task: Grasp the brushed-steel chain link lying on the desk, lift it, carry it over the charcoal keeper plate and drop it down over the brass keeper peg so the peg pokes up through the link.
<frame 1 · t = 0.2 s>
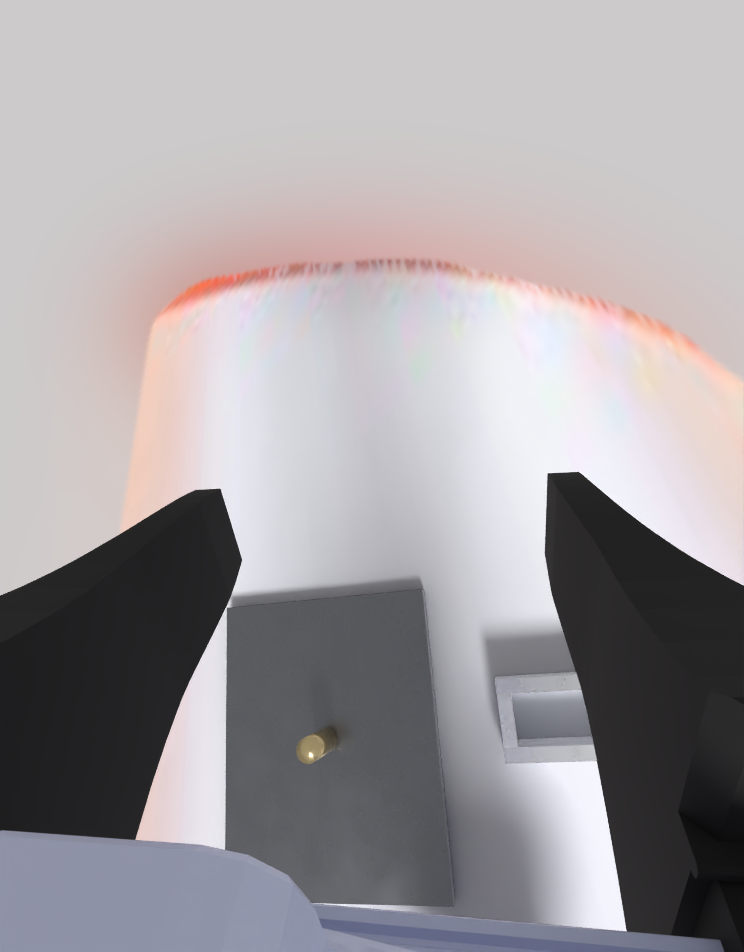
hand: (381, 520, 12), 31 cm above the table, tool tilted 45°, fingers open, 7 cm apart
keeper: (331, 737, 40), on the table
link: (567, 711, 37), on the table
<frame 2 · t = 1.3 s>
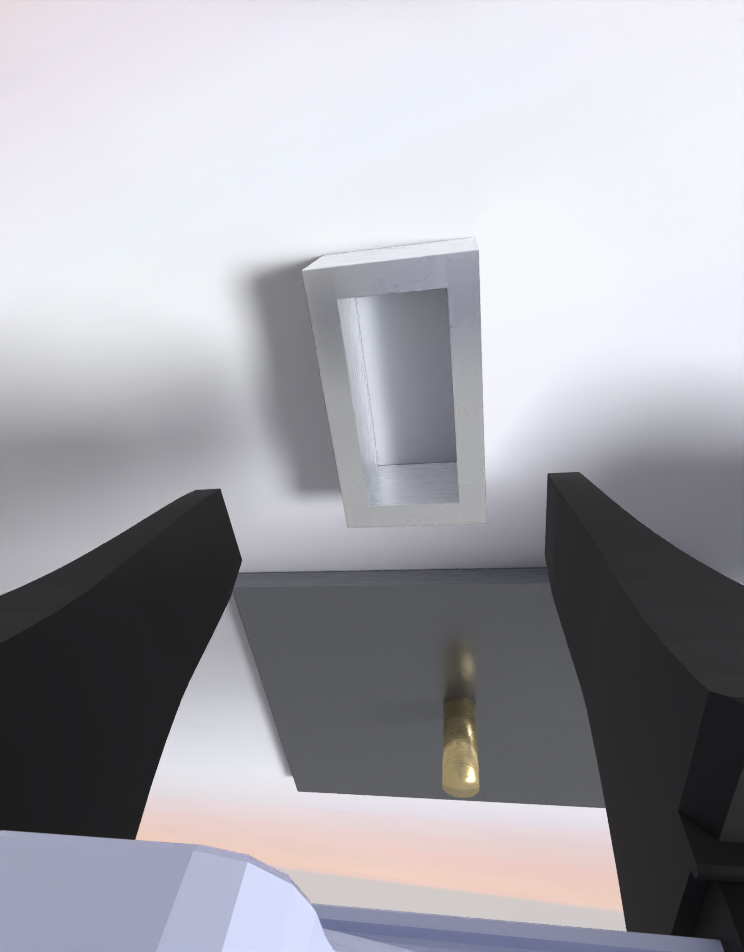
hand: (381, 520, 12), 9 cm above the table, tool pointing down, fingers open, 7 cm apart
keeper: (459, 691, 28), on the table
link: (409, 377, 20), on the table
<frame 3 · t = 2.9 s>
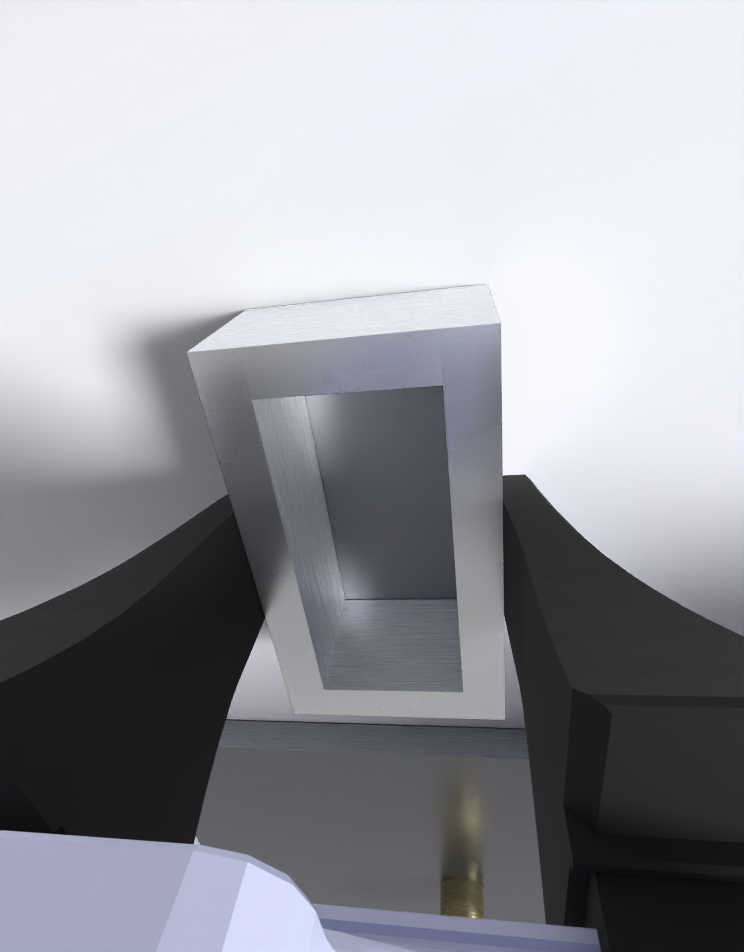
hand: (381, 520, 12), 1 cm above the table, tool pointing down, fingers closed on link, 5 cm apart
keeper: (461, 858, 21), on the table
link: (387, 487, 13), on the table, touching gripper
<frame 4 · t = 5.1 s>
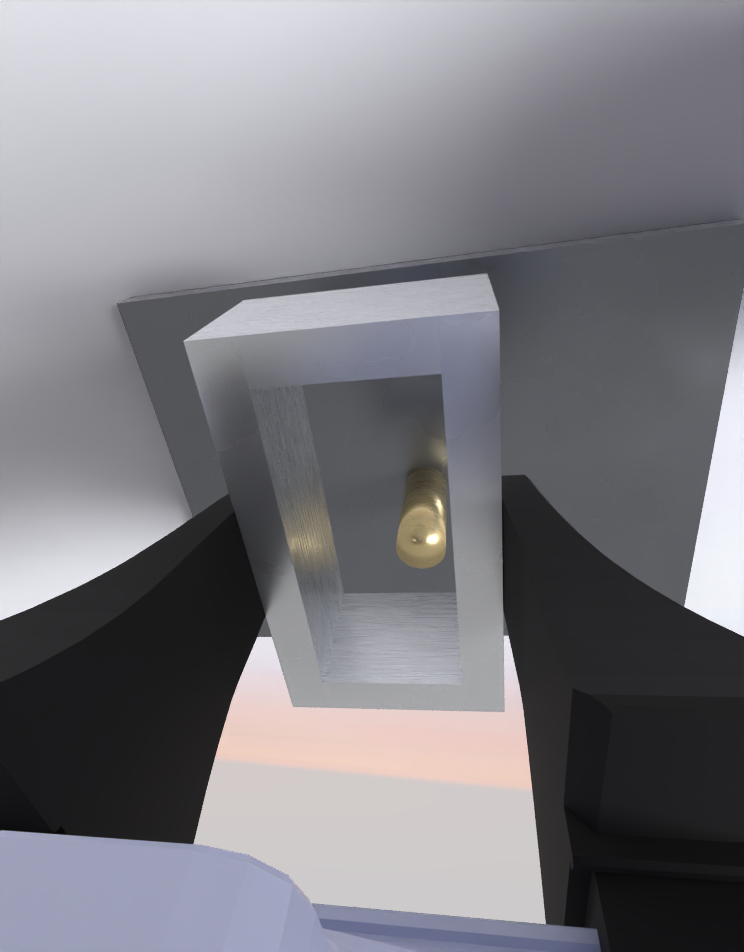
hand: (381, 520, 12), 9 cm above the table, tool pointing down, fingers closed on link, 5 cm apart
keeper: (426, 472, 22), on the table
link: (386, 479, 13), point 8 cm above the table, touching gripper
when the fingers open (3 cm above the table, at t = 7.5 s): link stays where it is, resting on keeper.
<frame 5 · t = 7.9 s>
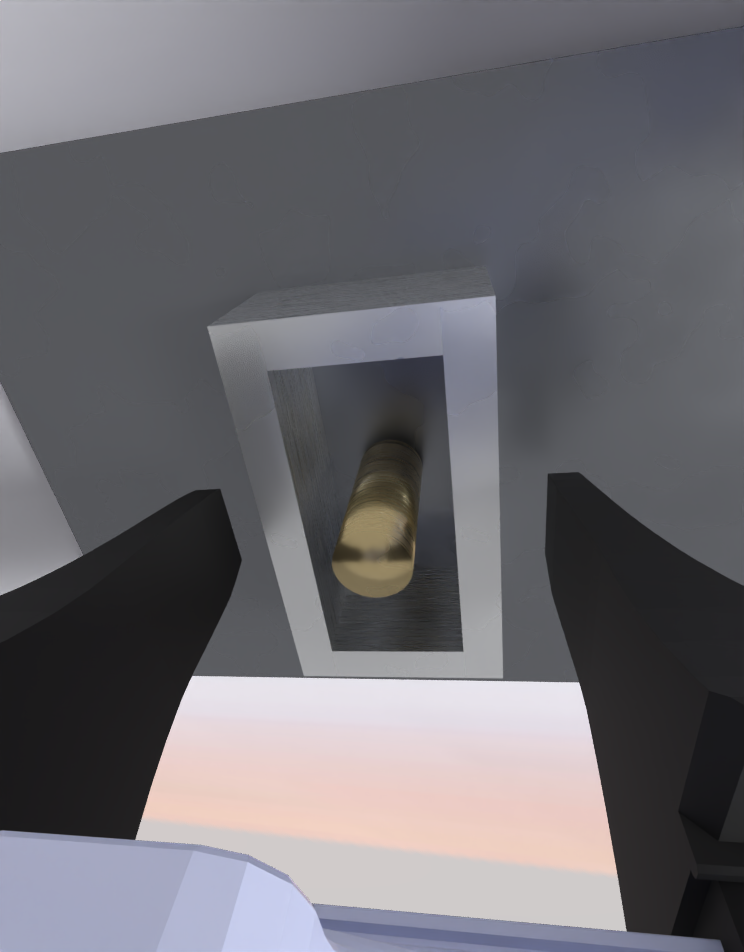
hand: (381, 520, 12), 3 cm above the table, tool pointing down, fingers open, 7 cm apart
keeper: (394, 449, 15), on the table
link: (391, 461, 14), point 1 cm above the table, touching keeper
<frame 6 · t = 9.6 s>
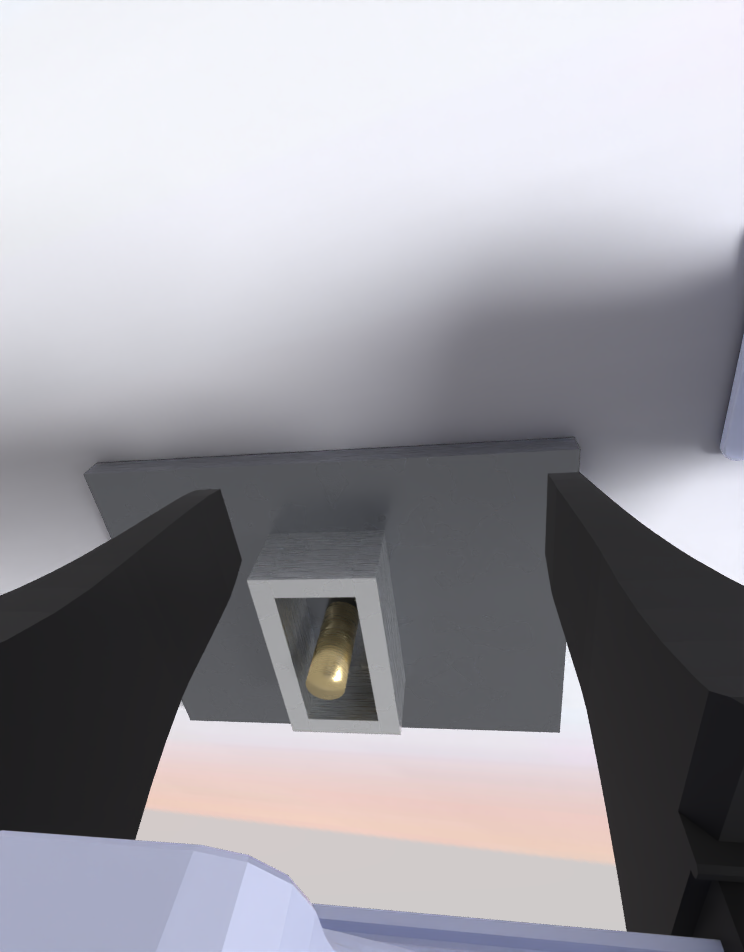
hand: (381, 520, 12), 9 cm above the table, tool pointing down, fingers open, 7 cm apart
keeper: (345, 599, 26), on the table
link: (342, 611, 25), point 1 cm above the table, touching keeper
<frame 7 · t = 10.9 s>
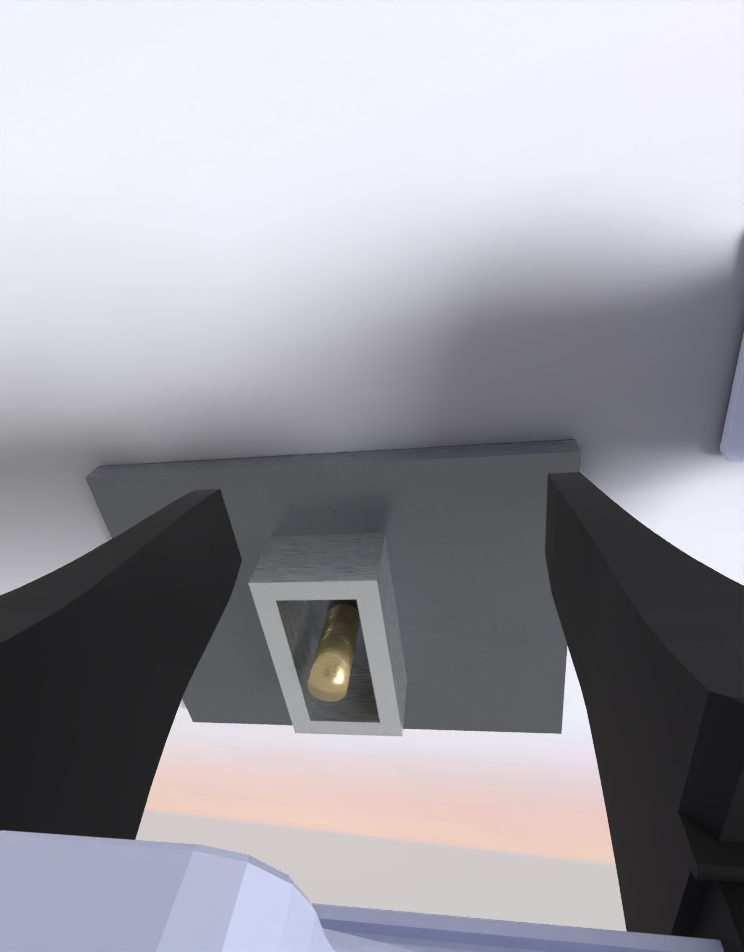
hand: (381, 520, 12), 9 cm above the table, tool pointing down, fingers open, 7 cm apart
keeper: (347, 601, 26), on the table
link: (343, 613, 25), point 1 cm above the table, touching keeper
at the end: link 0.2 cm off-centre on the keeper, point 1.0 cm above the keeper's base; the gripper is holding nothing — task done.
